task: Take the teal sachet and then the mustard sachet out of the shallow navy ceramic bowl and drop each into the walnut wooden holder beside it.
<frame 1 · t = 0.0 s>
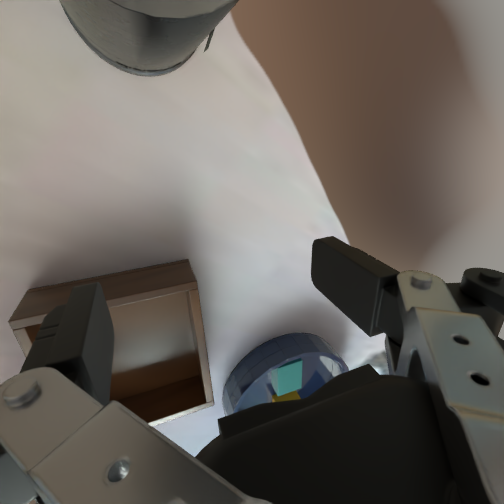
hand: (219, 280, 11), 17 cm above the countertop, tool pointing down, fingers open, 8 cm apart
bowl: (281, 383, 41), on the countertop
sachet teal: (283, 367, 39), resting on bowl
holder: (132, 339, 30), on the countertop
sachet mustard: (283, 403, 42), resting on bowl
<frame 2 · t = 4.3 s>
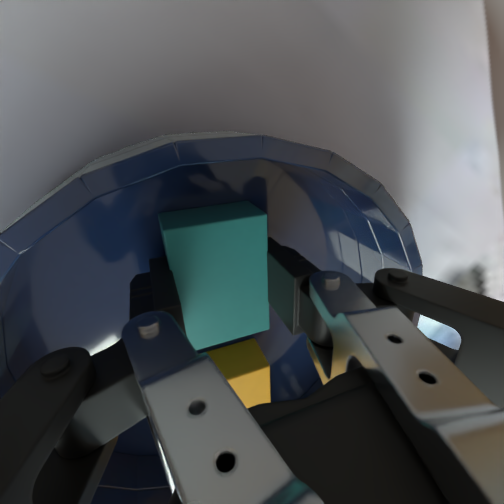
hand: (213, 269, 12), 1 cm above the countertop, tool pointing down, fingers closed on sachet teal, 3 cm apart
bowl: (216, 324, 14), on the countertop
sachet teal: (211, 264, 12), resting on bowl, touching gripper
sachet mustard: (224, 383, 15), resting on bowl
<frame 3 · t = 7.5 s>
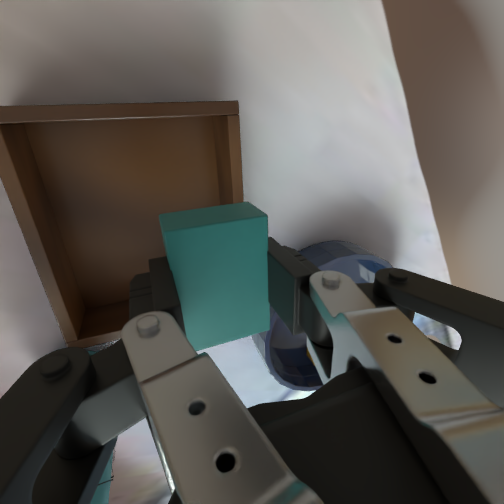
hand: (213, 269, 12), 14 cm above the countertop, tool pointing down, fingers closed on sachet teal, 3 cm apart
bowl: (319, 308, 34), on the countertop
beverage bottle: (80, 364, 27), on the countertop
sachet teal: (212, 264, 12), point 13 cm above the countertop, touching gripper
holder: (145, 215, 23), on the countertop
when the fingers open (1 cm above the countertop, at t = 11.0 s): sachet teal stays where it is, resting on holder.
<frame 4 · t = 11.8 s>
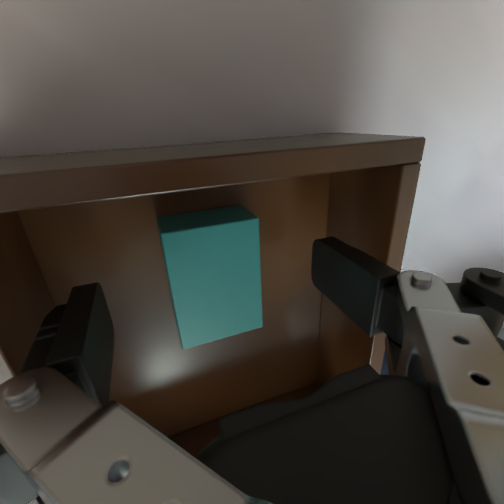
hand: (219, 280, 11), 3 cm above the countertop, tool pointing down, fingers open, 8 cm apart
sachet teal: (207, 265, 13), point 1 cm above the countertop, touching holder
holder: (211, 310, 15), on the countertop
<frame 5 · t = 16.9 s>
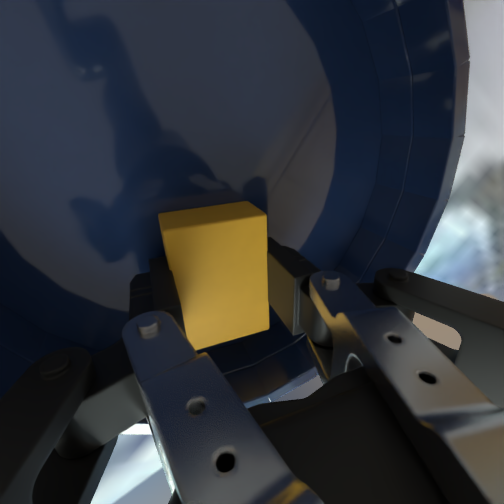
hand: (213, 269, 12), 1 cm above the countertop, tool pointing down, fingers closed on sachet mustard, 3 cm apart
bowl: (199, 177, 11), on the countertop
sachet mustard: (211, 264, 12), point 1 cm above the countertop, touching bowl, gripper
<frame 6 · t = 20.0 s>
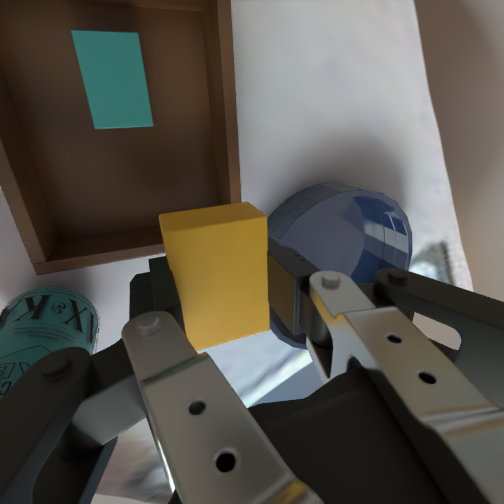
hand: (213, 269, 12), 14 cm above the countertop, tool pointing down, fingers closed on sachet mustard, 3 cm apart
bowl: (321, 262, 32), on the countertop
beverage bottle: (57, 308, 24), on the countertop
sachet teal: (117, 85, 19), point 1 cm above the countertop, touching holder
holder: (127, 131, 21), on the countertop
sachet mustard: (211, 265, 12), point 13 cm above the countertop, touching gripper
when the fingers open (1 cm above the countertop, at t = 23.6 s): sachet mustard stays where it is, resting on holder.
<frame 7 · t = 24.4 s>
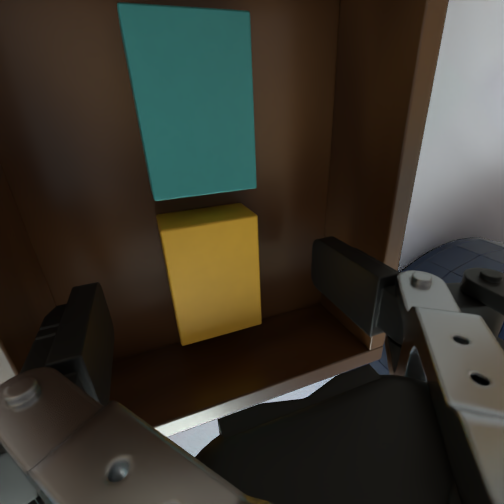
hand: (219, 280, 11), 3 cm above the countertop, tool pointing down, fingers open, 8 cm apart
bowl: (431, 339, 23), on the countertop
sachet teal: (188, 113, 10), point 1 cm above the countertop, touching holder
holder: (195, 188, 12), on the countertop
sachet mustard: (206, 262, 13), point 1 cm above the countertop, touching holder
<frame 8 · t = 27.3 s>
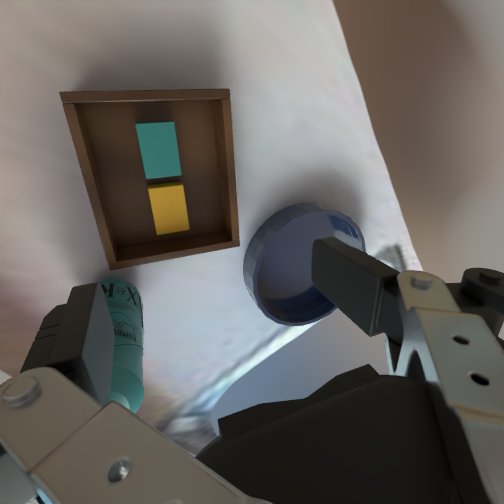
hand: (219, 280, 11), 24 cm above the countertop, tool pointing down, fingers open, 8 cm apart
bowl: (299, 260, 43), on the countertop
beverage bottle: (112, 293, 35), on the countertop
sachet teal: (158, 149, 30), point 1 cm above the countertop, touching holder
holder: (162, 176, 32), on the countertop
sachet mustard: (167, 205, 32), point 1 cm above the countertop, touching holder
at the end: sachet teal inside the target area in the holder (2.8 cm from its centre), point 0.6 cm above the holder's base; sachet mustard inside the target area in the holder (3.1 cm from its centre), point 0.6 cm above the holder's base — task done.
